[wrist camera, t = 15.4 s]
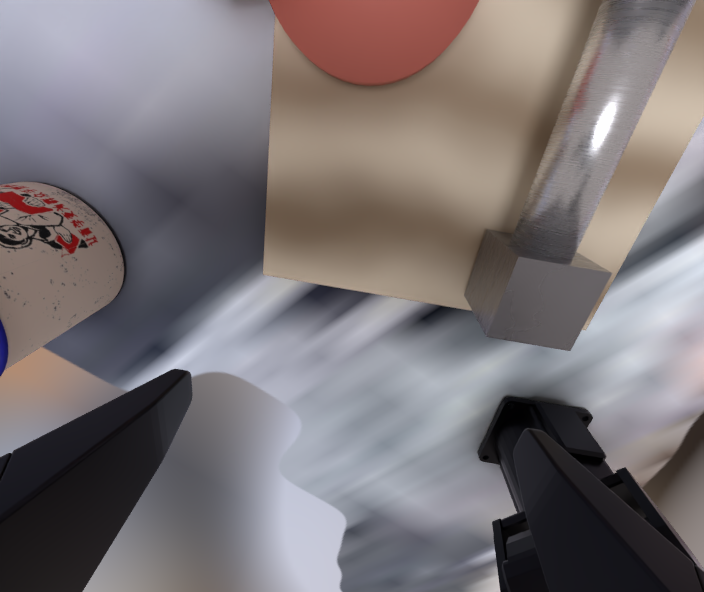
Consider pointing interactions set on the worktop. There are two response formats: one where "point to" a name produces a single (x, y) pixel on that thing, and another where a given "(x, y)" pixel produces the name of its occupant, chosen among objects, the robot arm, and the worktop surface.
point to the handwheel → (372, 34)
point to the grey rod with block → (574, 181)
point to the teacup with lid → (50, 266)
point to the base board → (453, 153)
